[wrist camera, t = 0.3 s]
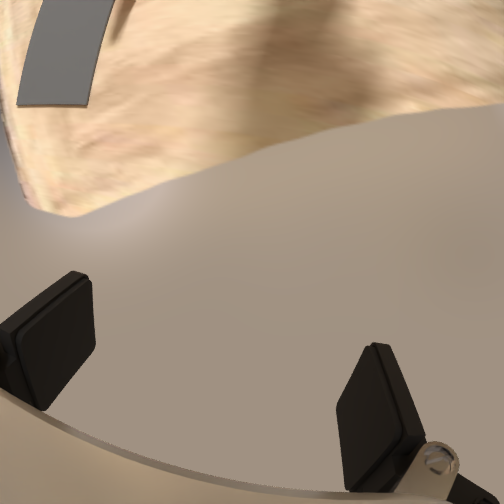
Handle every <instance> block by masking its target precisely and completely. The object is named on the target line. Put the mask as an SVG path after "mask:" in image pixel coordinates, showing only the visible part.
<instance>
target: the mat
mask: <svg viewBox="0 0 504 504" xmlns="http://www.w3.org/2000/svg"><path fill="white" fill-rule="evenodd" d="M114 2H115V0H43V3H42V5H41V8H40V11H39V14H38V17H37V20H36V23H35V26H34V29H33V33H32V36H31V40H30V43H29V47H28V51H27V55H26V59H25V63H24V67H23V71H22V76H21V81H20V86H19V91H18V97H17V103H16V105H35V104H77V105H88V100H89V95H90V90H91V85H92V81H93V76H94V72H95V67H96V63H97V59H98V55H99V51H100V47H101V44H102V40H103V36H104V33H105V30H106V26H107V23H108V20H109V17H110V13H111V10H112V7H113V4H114Z"/></svg>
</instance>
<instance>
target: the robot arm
mask: <svg viewBox="0 0 504 504" xmlns="http://www.w3.org/2000/svg"><path fill="white" fill-rule="evenodd" d="M95 345H96V341H95V328H94V315H93V295H92V282H91V281H90V280H89V278H88V276H87V275H86V274H83V273H80V272H76V271H71V272H69V273H68V274H66V275H65V276H63V277H62V278H61V279H59V280H58V281H57V282H55V283H54V284H52V285H51V286H50V287H48V288H47V289H45V290H44V291H43V292H42V293H40V294H39V295H37V296H36V297H35V298H34V299H32V300H31V301H29V302H28V303H27V304H25V305H24V306H23V307H22V308H20V309H19V310H18V311H16V312H15V313H14V314H13V315H11V316H10V317H9V318H7V319H6V320H5V321H4V322H2V323H1V324H0V504H500V503H499V501H498V500H497V498H496V497H495V496H493V495H492V494H490V493H489V492H487V491H486V490H484V489H482V488H481V487H479V486H477V485H476V484H474V483H473V482H471V481H470V480H468V479H466V478H465V477H463V476H462V475H460V474H459V473H458V471H459V466H460V464H459V458H458V457H457V454H456V453H455V452H454V450H453V449H452V448H451V447H449V446H448V445H446V444H444V443H442V442H437V441H433V442H428V443H427V441H426V439H425V432H424V429H423V426H422V423H421V421H420V418H419V415H418V413H417V410H416V407H415V405H414V402H413V400H412V397H411V395H410V392H409V389H408V387H407V384H406V382H405V380H404V377H403V375H402V372H401V370H400V368H399V365H398V363H397V360H396V358H395V356H394V353H393V351H392V349H391V347H390V345H388V344H382V343H376V342H374V343H372V344H371V345H370V346H366V347H365V348H364V350H363V353H362V355H361V357H360V359H359V361H358V363H357V365H356V367H355V369H354V371H353V373H352V376H351V377H350V379H349V381H348V383H347V385H346V387H345V389H344V391H343V393H342V395H341V397H340V398H339V400H338V402H337V406H336V414H337V422H338V430H339V438H340V447H341V456H342V464H343V474H344V484H345V489H346V490H349V492H327V491H313V490H300V489H290V488H281V487H273V486H266V485H259V484H253V483H247V482H241V481H236V480H230V479H225V478H220V477H216V476H212V475H207V474H203V473H199V472H195V471H191V470H187V469H184V468H180V467H177V466H173V465H170V464H166V463H163V462H160V461H157V460H153V459H150V458H147V457H144V456H141V455H139V454H136V453H133V452H130V451H128V450H125V449H122V448H120V447H117V446H114V445H112V444H109V443H107V442H104V441H102V440H100V439H97V438H95V437H93V436H90V435H88V434H86V433H84V432H81V431H79V430H77V429H75V428H73V427H71V426H68V425H67V424H64V423H62V422H61V421H59V420H56V419H55V418H53V417H51V416H49V415H47V414H45V413H43V412H41V411H46V410H47V409H48V408H49V406H50V405H51V403H53V401H54V400H55V399H56V397H57V396H58V394H59V393H60V392H61V391H62V390H63V388H64V387H65V386H66V384H67V383H68V382H69V381H70V379H71V378H72V377H73V376H74V374H75V373H76V372H77V371H78V369H79V368H80V367H81V366H82V365H83V363H84V362H85V361H86V359H87V358H88V357H89V356H90V355H91V353H92V352H93V351H94V349H95Z"/></svg>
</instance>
